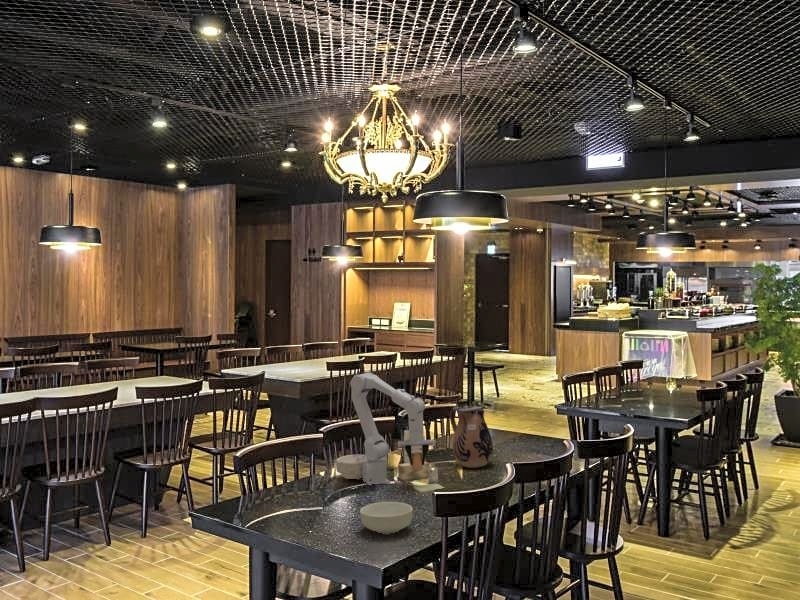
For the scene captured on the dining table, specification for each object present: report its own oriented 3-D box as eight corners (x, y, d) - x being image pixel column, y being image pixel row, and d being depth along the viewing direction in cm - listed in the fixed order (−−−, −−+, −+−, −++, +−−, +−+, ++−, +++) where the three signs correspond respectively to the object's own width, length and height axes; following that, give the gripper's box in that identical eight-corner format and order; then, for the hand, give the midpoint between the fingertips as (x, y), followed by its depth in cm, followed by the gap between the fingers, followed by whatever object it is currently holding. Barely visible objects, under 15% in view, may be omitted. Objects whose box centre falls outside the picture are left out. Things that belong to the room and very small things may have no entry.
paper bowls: (329, 480, 293) (329, 461, 293) (347, 471, 307) (347, 453, 307) (362, 483, 287) (362, 463, 287) (379, 474, 301) (379, 455, 300)
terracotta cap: (414, 470, 277) (414, 455, 277) (410, 468, 281) (410, 452, 281) (424, 469, 279) (423, 453, 279) (420, 466, 283) (419, 451, 282)
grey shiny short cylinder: (430, 484, 283) (430, 469, 282) (426, 482, 286) (426, 467, 286) (439, 483, 284) (439, 468, 284) (435, 481, 288) (435, 466, 288)
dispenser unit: (401, 481, 288) (401, 466, 288) (396, 478, 293) (396, 464, 293) (430, 477, 293) (430, 463, 293) (425, 474, 298) (425, 460, 298)
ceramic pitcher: (480, 472, 298) (478, 413, 298) (438, 466, 311) (436, 409, 311) (501, 464, 312) (499, 406, 312) (460, 458, 325) (458, 403, 325)
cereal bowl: (412, 521, 239) (411, 500, 239) (414, 538, 222) (414, 515, 222) (361, 523, 238) (360, 501, 238) (360, 540, 222) (359, 517, 222)
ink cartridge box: (426, 462, 319) (425, 429, 319) (421, 464, 315) (420, 431, 315) (409, 460, 323) (408, 428, 323) (404, 463, 319) (403, 430, 319)
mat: (421, 492, 272) (421, 491, 272) (413, 488, 278) (413, 486, 278) (444, 489, 275) (444, 487, 275) (436, 484, 282) (436, 483, 282)
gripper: (434, 427, 284) (435, 461, 284) (397, 428, 284) (398, 462, 284) (435, 430, 277) (436, 465, 277) (397, 432, 277) (398, 467, 277)
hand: (417, 464), depth 280 cm, fingers closed on terracotta cap, 4 cm apart
